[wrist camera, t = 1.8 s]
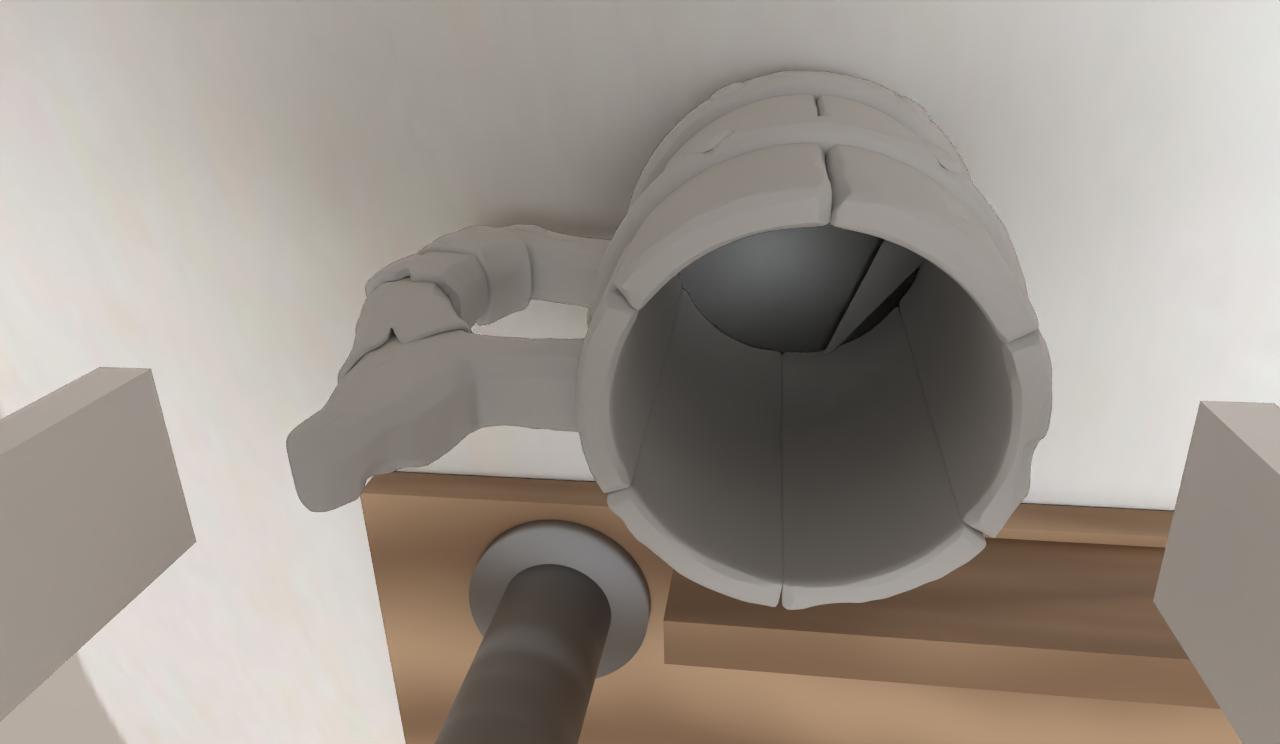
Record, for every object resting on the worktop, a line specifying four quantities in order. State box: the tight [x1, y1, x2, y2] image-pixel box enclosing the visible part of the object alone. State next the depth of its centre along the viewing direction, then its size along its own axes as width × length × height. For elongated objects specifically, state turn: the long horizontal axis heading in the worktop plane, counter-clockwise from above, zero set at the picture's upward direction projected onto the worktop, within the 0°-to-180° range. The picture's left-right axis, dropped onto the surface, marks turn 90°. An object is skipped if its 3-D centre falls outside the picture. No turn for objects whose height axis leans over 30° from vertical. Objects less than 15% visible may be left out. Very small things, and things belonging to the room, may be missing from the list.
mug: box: [286, 71, 1052, 610], centre depth 15 cm, size 8×12×12 cm, turn 91°
